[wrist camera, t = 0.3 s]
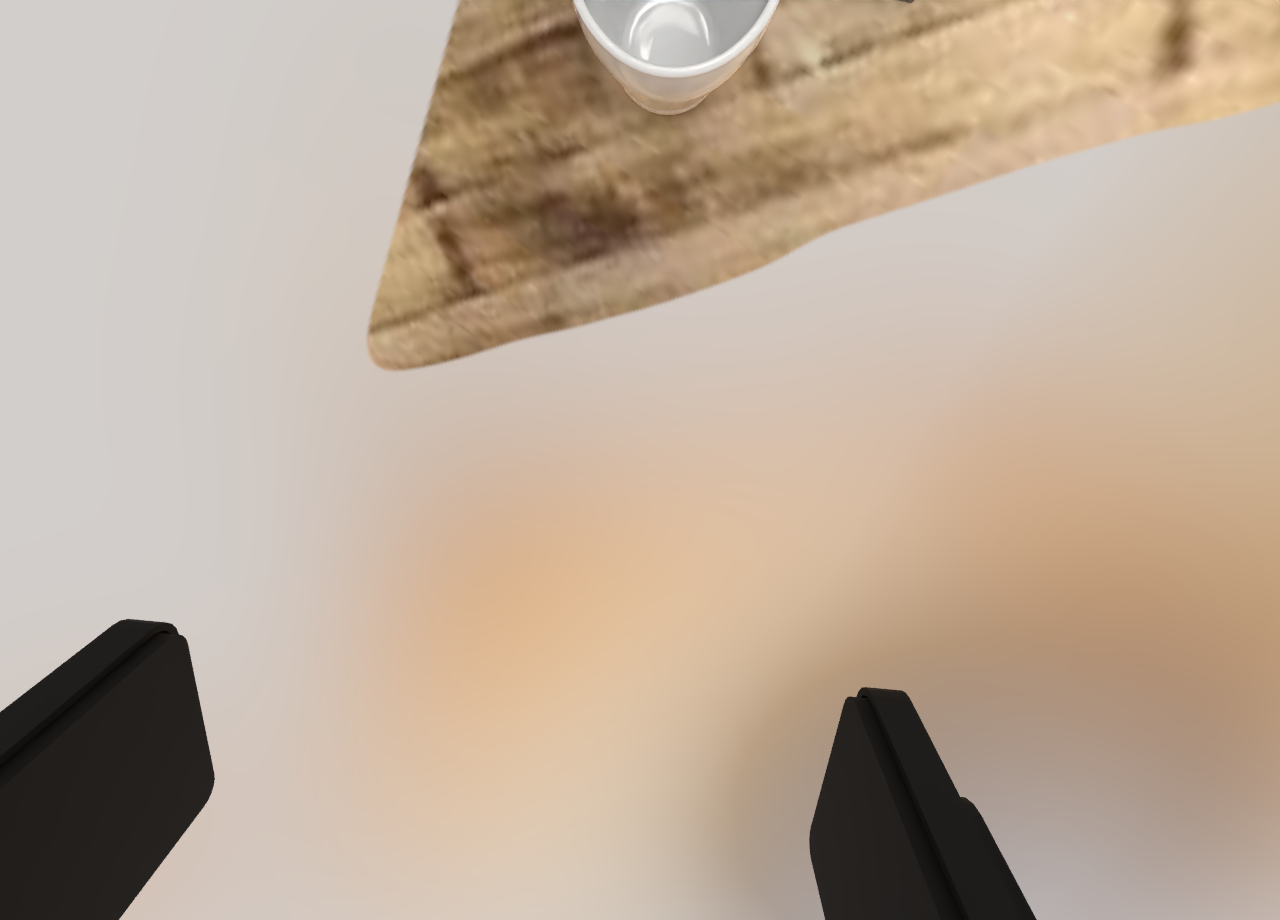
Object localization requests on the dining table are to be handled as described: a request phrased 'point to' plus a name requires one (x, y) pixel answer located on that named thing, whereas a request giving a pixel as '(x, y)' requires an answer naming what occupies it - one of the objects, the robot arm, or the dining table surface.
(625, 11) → the drinking glass
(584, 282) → the dining table surface
